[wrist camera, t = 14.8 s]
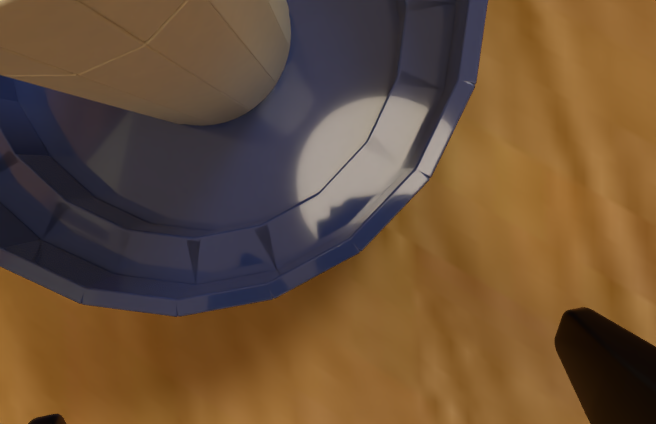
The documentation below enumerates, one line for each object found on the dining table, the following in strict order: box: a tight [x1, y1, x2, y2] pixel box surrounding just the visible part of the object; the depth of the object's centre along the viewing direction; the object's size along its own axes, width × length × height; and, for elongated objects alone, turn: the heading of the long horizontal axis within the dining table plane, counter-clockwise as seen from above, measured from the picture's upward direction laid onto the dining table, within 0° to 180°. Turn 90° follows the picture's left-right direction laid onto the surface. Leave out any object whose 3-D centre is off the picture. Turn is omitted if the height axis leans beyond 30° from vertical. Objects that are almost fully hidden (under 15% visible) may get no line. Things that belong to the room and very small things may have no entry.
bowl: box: [0, 0, 488, 317], centre depth 16 cm, size 17×17×4 cm
